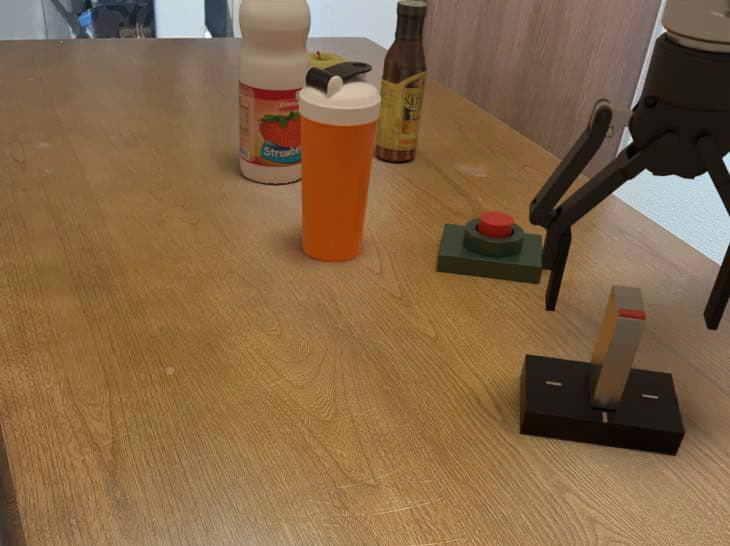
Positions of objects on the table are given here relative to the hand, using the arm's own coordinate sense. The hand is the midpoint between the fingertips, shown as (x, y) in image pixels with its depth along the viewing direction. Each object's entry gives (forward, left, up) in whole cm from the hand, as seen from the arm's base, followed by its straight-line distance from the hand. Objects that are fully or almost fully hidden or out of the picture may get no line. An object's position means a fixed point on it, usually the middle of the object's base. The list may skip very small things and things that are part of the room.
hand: (628, 313), depth 75 cm
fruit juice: (+42, -50, -11) cm, 66 cm away
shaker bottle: (+30, -28, -11) cm, 42 cm away
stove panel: (0, 0, -10) cm, 10 cm away
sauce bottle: (+26, -62, -11) cm, 68 cm away
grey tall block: (0, 0, -8) cm, 8 cm away
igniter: (+11, -30, -10) cm, 34 cm away
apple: (+41, -82, -11) cm, 92 cm away
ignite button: (+11, -30, -7) cm, 33 cm away
